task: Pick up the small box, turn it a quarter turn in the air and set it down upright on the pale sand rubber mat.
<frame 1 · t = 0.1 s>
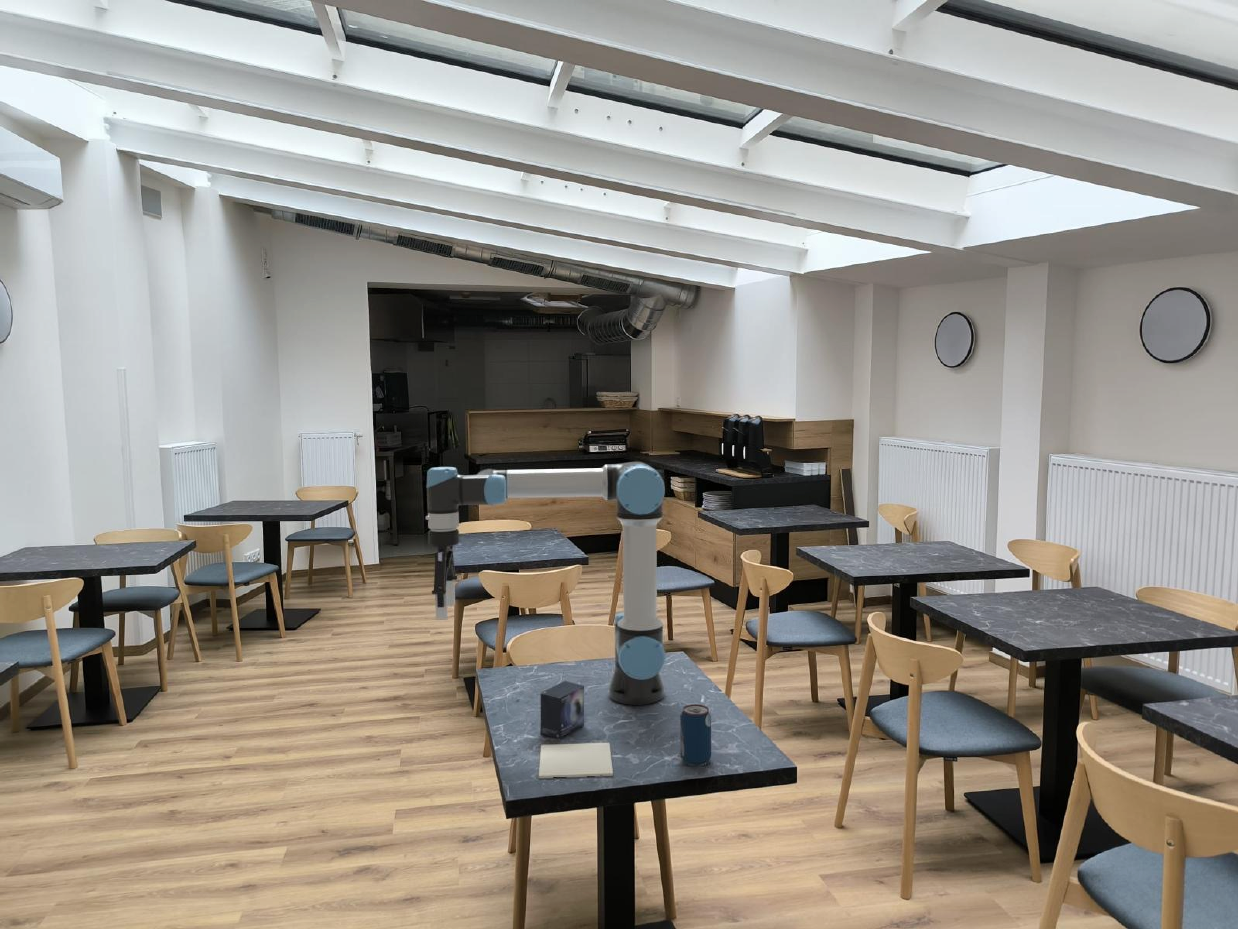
hand: (445, 612, 211), 28 cm above the table, tool pointing down, fingers open, 13 cm apart
mat: (575, 761, 189), on the table
soda can: (695, 761, 188), on the table
small box: (562, 730, 207), on the table
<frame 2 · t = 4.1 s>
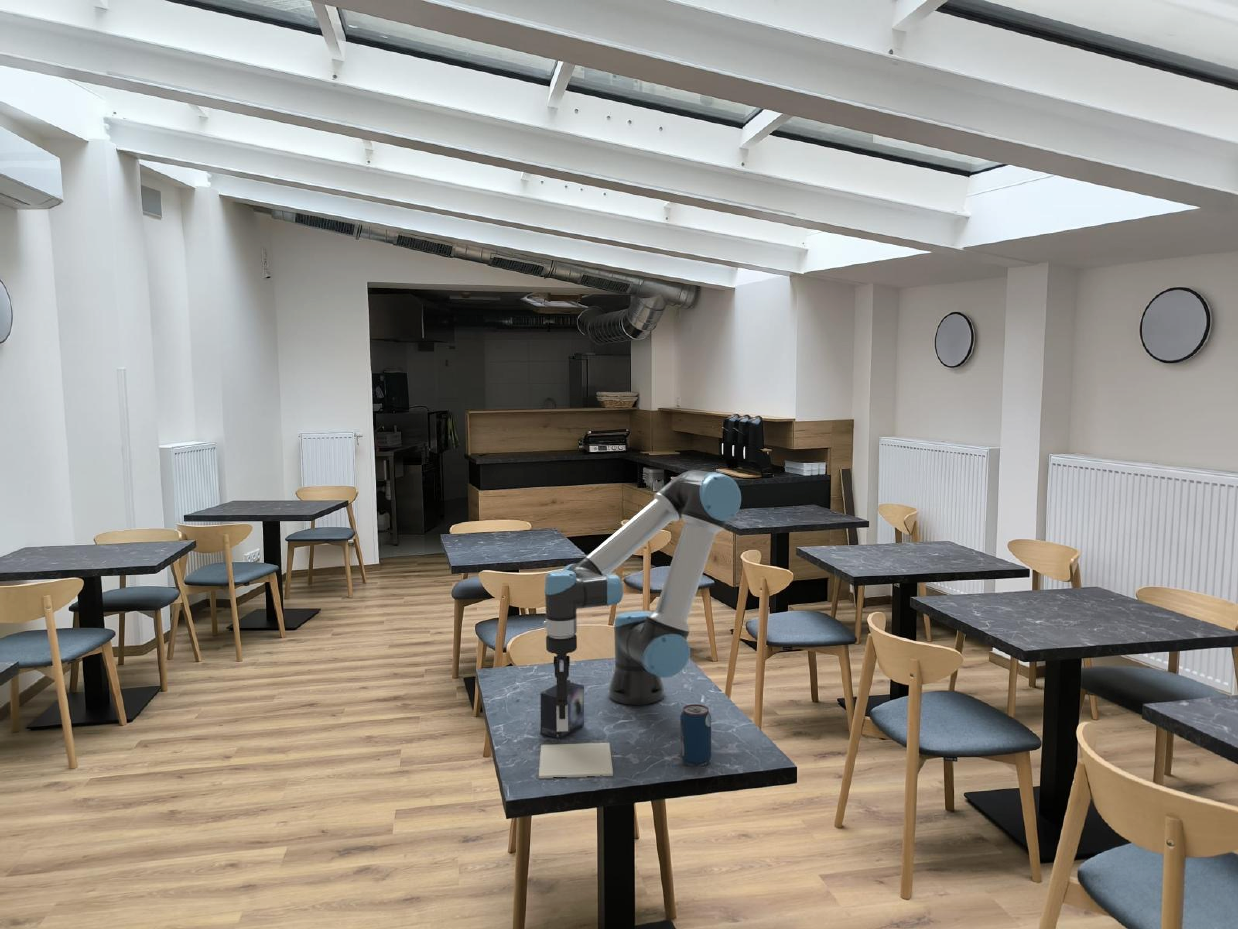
hand: (562, 720, 206), 2 cm above the table, tool pointing down, fingers closed on small box, 12 cm apart
small box: (562, 730, 207), on the table, touching gripper
everything else where it was.
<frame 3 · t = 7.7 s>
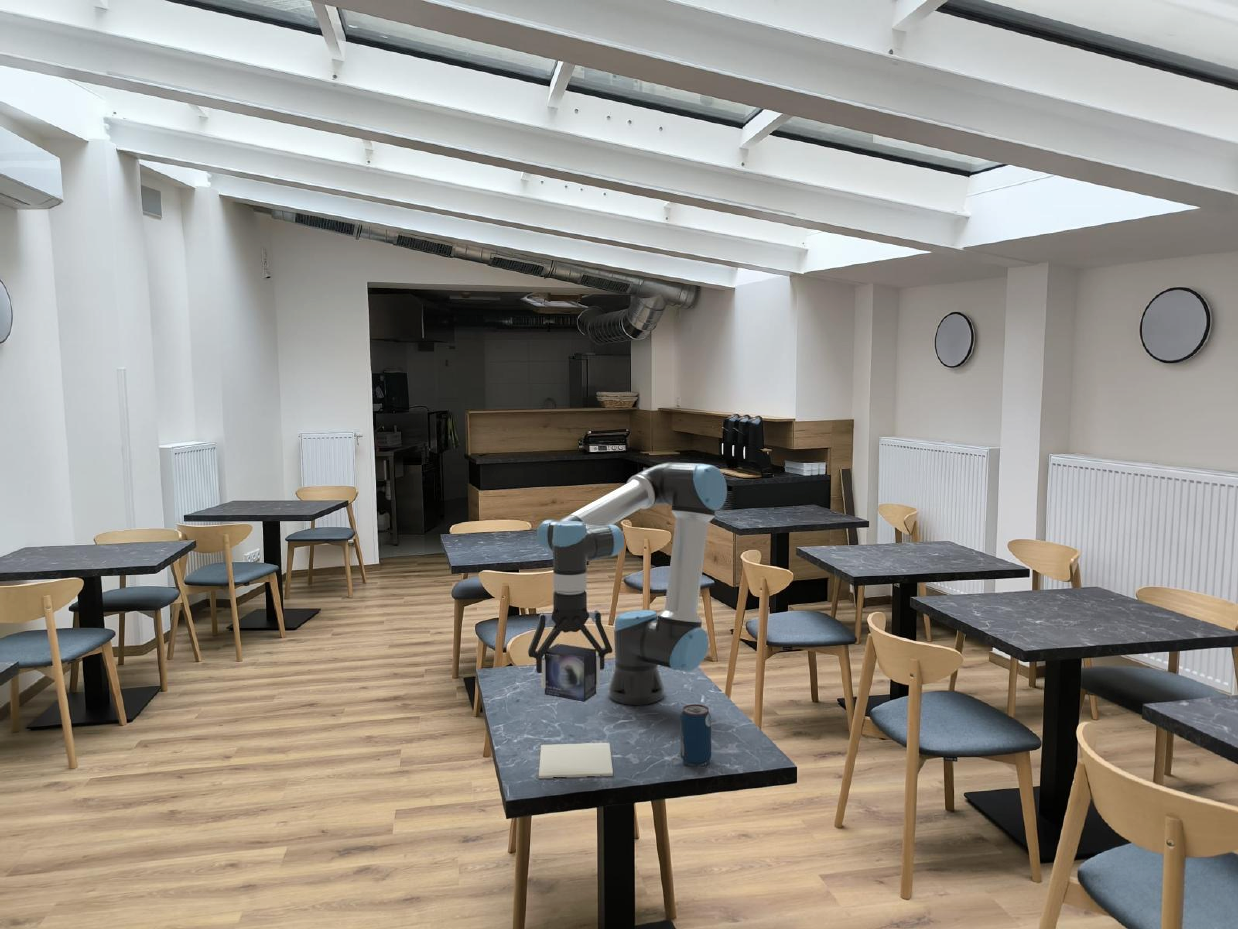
hand: (570, 685, 190), 17 cm above the table, tool pointing down, fingers closed on small box, 12 cm apart
small box: (570, 695, 190), point 14 cm above the table, touching gripper
everything else where it was.
when the fingers open (4 cm above the table, at t = 11.3 s): small box drops 1 cm, resting on mat.
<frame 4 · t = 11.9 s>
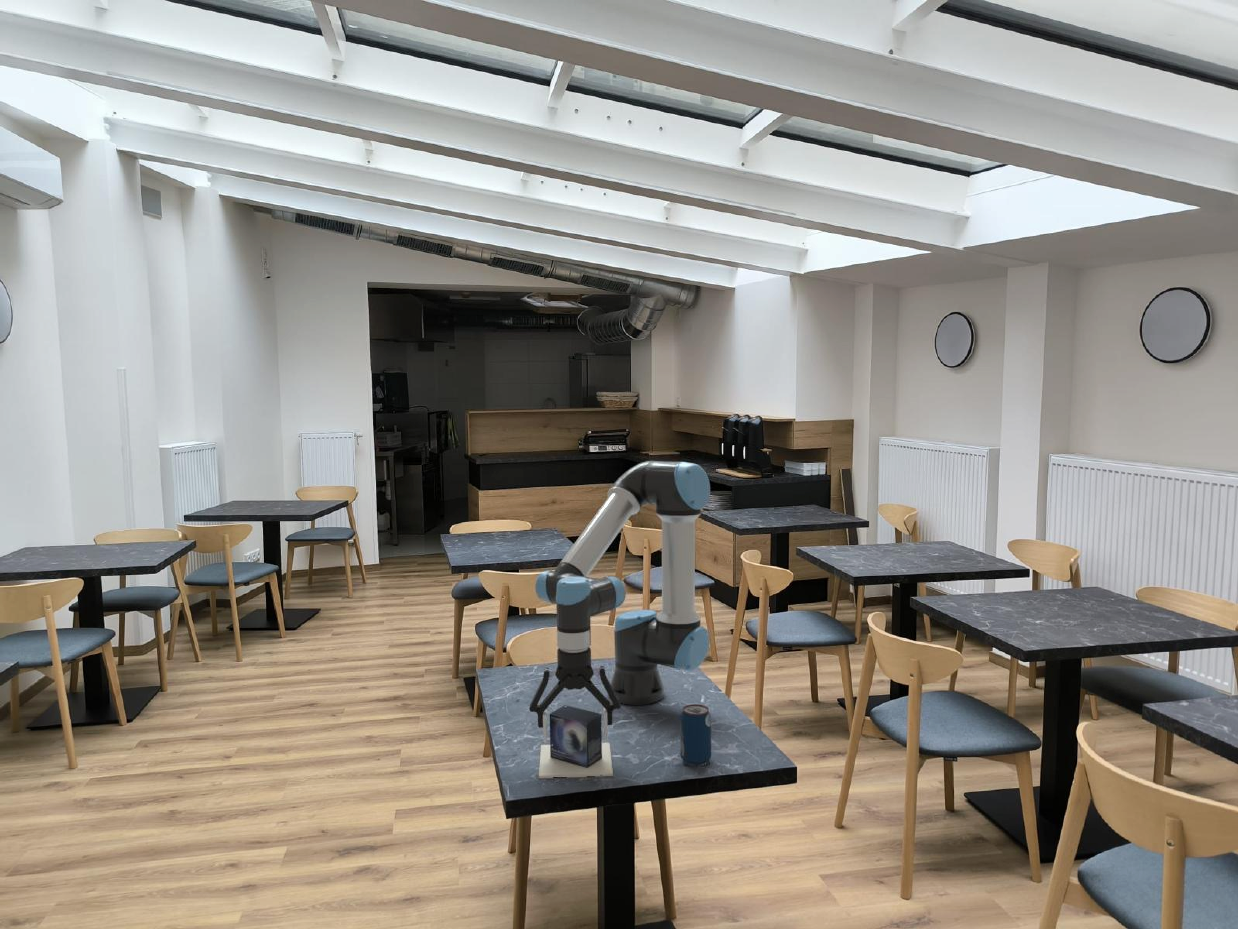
hand: (575, 739, 188), 5 cm above the table, tool pointing down, fingers open, 13 cm apart
small box: (575, 759, 189), resting on mat
everything else where it was.
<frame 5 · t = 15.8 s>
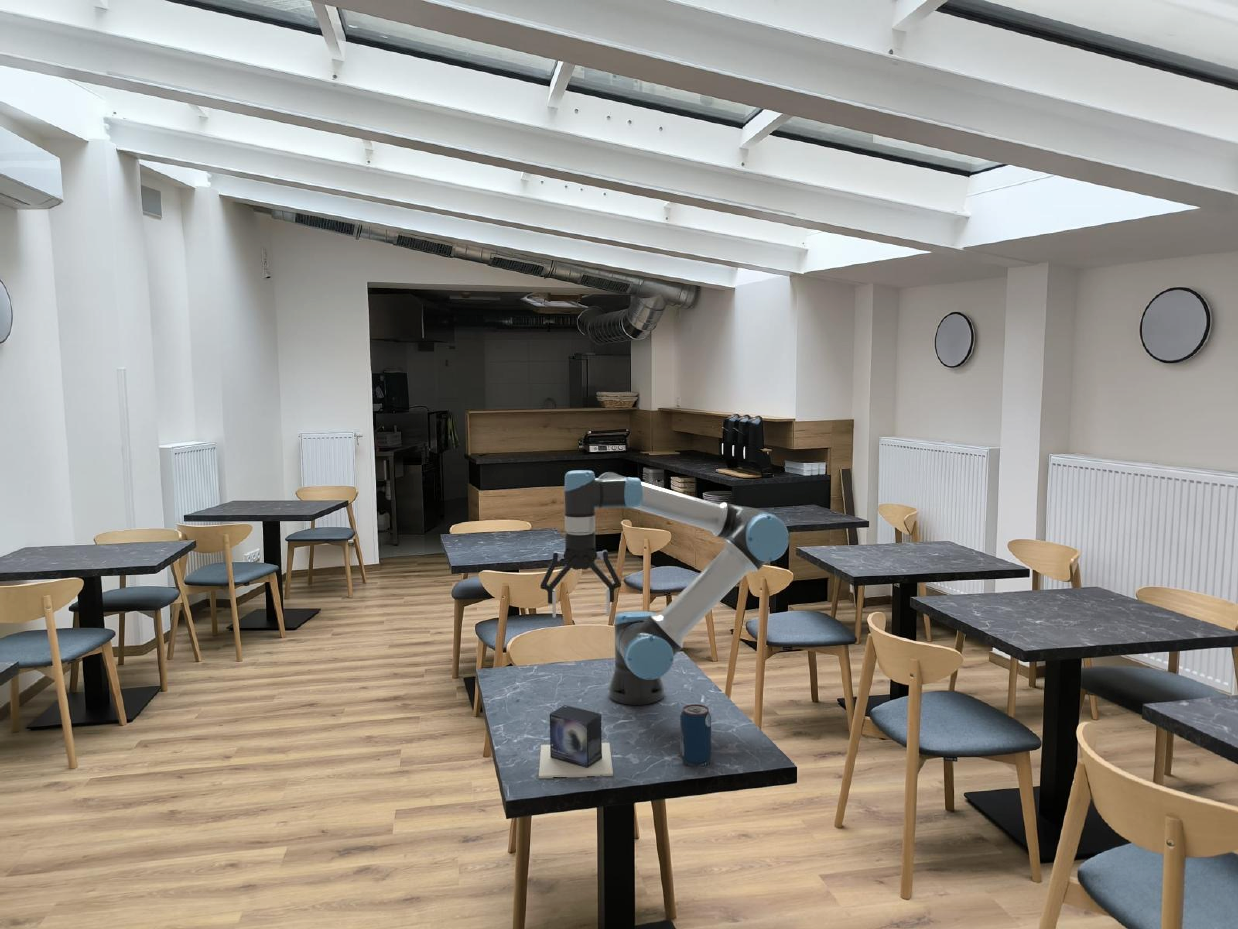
hand: (581, 615, 212), 27 cm above the table, tool pointing down, fingers open, 13 cm apart
nothing on the table moved.
at the end: small box inside the target area (0.1 cm from its centre), resting on mat; small box tilted 0°; the gripper is holding nothing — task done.
